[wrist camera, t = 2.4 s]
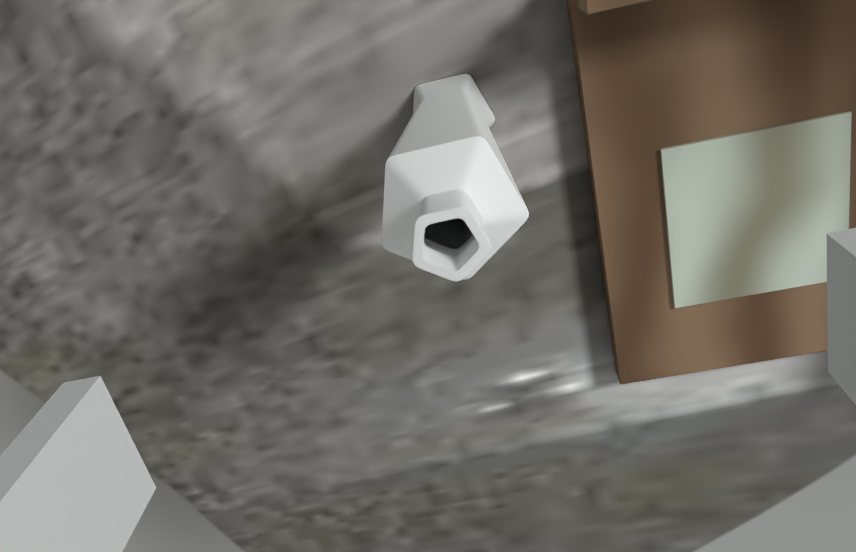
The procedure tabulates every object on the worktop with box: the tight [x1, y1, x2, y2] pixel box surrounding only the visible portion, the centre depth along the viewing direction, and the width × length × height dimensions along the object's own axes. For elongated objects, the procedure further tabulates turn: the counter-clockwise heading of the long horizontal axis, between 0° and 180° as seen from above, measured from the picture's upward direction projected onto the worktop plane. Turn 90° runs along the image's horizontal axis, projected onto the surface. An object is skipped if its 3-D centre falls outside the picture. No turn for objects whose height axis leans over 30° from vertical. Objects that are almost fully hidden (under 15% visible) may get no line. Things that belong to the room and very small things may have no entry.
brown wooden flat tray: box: [567, 0, 856, 384], centre depth 31 cm, size 16×20×5 cm
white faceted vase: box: [382, 74, 529, 281], centre depth 26 cm, size 5×4×15 cm
